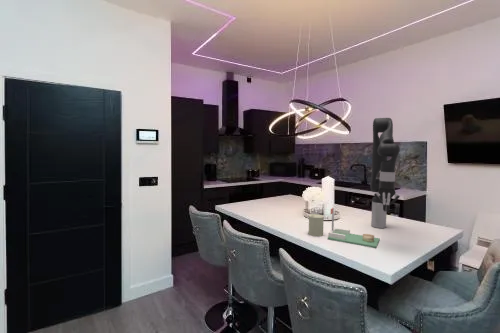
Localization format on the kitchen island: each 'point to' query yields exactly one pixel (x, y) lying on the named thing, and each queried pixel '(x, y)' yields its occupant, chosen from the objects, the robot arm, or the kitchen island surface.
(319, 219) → the can
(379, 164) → the robot arm
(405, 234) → the kitchen island surface
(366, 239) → the puck
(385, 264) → the kitchen island surface
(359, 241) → the putting green
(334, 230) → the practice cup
